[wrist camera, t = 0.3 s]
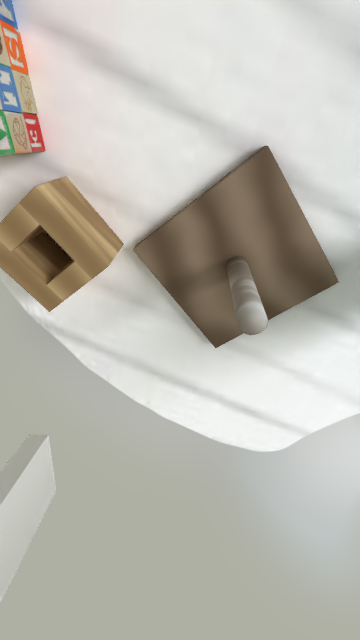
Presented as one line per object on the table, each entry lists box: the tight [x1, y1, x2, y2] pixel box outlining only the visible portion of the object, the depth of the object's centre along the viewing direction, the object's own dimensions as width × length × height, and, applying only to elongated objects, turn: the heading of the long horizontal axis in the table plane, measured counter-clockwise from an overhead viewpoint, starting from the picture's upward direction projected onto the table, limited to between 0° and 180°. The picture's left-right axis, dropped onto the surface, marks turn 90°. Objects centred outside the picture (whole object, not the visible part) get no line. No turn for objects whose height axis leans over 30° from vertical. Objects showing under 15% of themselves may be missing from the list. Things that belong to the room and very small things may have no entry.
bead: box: [0, 177, 123, 312], centre depth 32 cm, size 9×9×7 cm
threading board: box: [133, 146, 339, 348], centre depth 30 cm, size 17×17×14 cm
